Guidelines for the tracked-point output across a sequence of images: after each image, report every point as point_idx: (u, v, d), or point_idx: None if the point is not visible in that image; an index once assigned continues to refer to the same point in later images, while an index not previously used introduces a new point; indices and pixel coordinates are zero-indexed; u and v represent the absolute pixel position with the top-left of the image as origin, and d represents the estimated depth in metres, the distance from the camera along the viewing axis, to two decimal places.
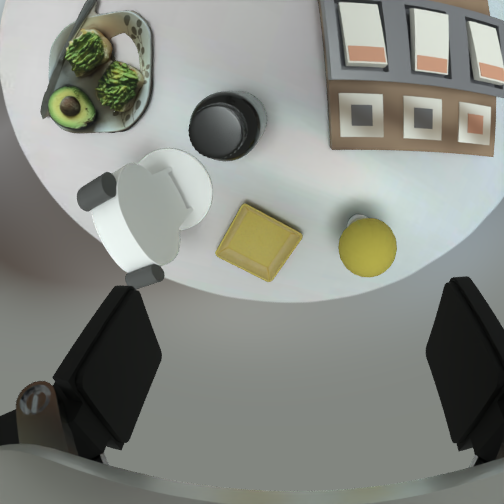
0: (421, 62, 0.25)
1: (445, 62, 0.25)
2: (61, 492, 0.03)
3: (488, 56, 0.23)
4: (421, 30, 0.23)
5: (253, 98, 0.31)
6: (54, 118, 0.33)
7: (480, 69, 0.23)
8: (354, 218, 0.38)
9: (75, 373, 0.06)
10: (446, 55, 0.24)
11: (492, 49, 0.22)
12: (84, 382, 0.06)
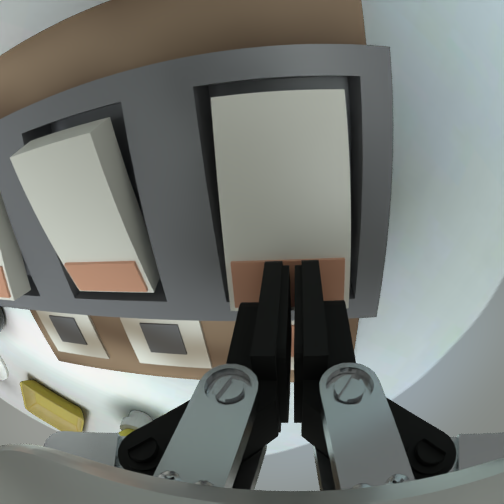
0: (79, 277, 0.13)
1: (131, 270, 0.12)
2: (61, 492, 0.03)
3: (280, 226, 0.10)
4: (45, 207, 0.10)
5: None
6: None
7: (234, 284, 0.11)
8: (123, 422, 0.26)
9: (276, 347, 0.07)
10: (129, 252, 0.12)
11: (305, 192, 0.10)
12: (286, 356, 0.07)
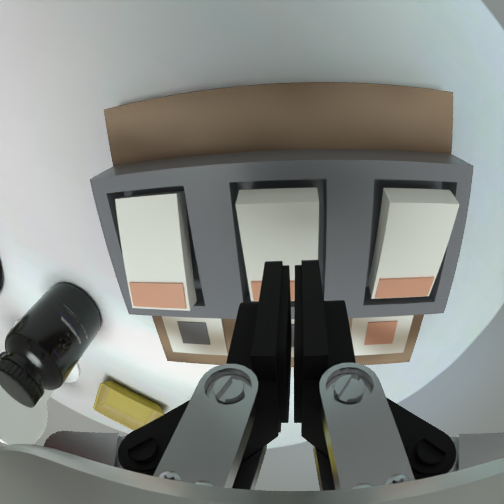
0: None
1: None
2: (61, 492, 0.03)
3: (408, 264, 0.17)
4: (255, 242, 0.17)
5: (65, 314, 0.25)
6: None
7: (377, 288, 0.18)
8: None
9: (276, 347, 0.07)
10: None
11: (425, 250, 0.16)
12: (286, 356, 0.07)
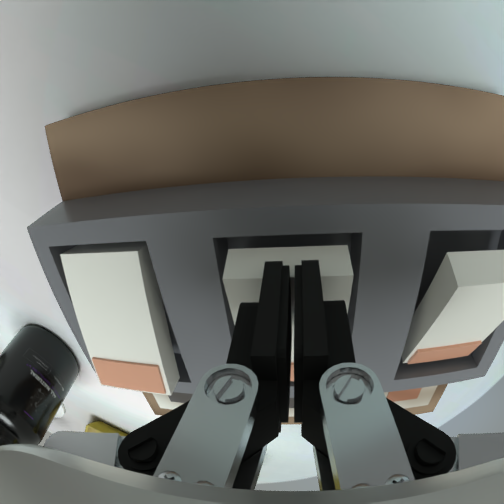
0: None
1: None
2: (61, 492, 0.03)
3: (456, 335, 0.12)
4: None
5: (34, 366, 0.19)
6: None
7: (412, 355, 0.13)
8: None
9: (276, 347, 0.07)
10: None
11: (481, 323, 0.11)
12: (286, 356, 0.07)
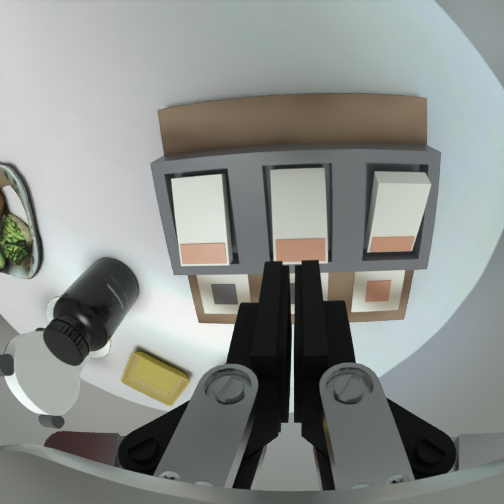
0: (282, 250, 0.24)
1: (321, 244, 0.23)
2: (61, 492, 0.03)
3: (394, 226, 0.23)
4: (281, 201, 0.24)
5: (110, 282, 0.31)
6: None
7: (371, 244, 0.25)
8: None
9: (276, 347, 0.07)
10: (323, 232, 0.23)
11: (406, 216, 0.22)
12: (286, 356, 0.07)
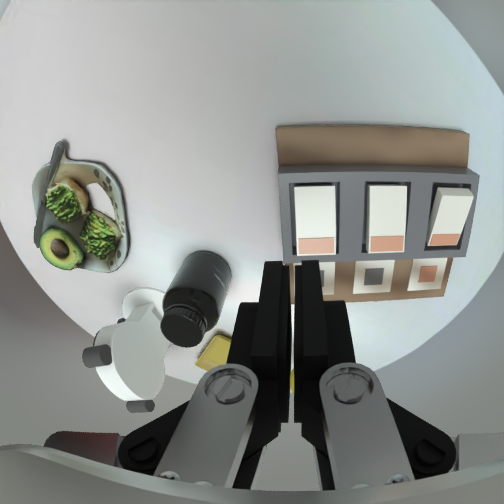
0: (375, 244, 0.32)
1: (401, 239, 0.31)
2: (61, 492, 0.03)
3: (447, 226, 0.30)
4: (376, 209, 0.31)
5: (215, 272, 0.38)
6: (48, 259, 0.41)
7: (431, 239, 0.32)
8: None
9: (276, 347, 0.07)
10: (403, 231, 0.31)
11: (456, 219, 0.30)
12: (286, 356, 0.07)
